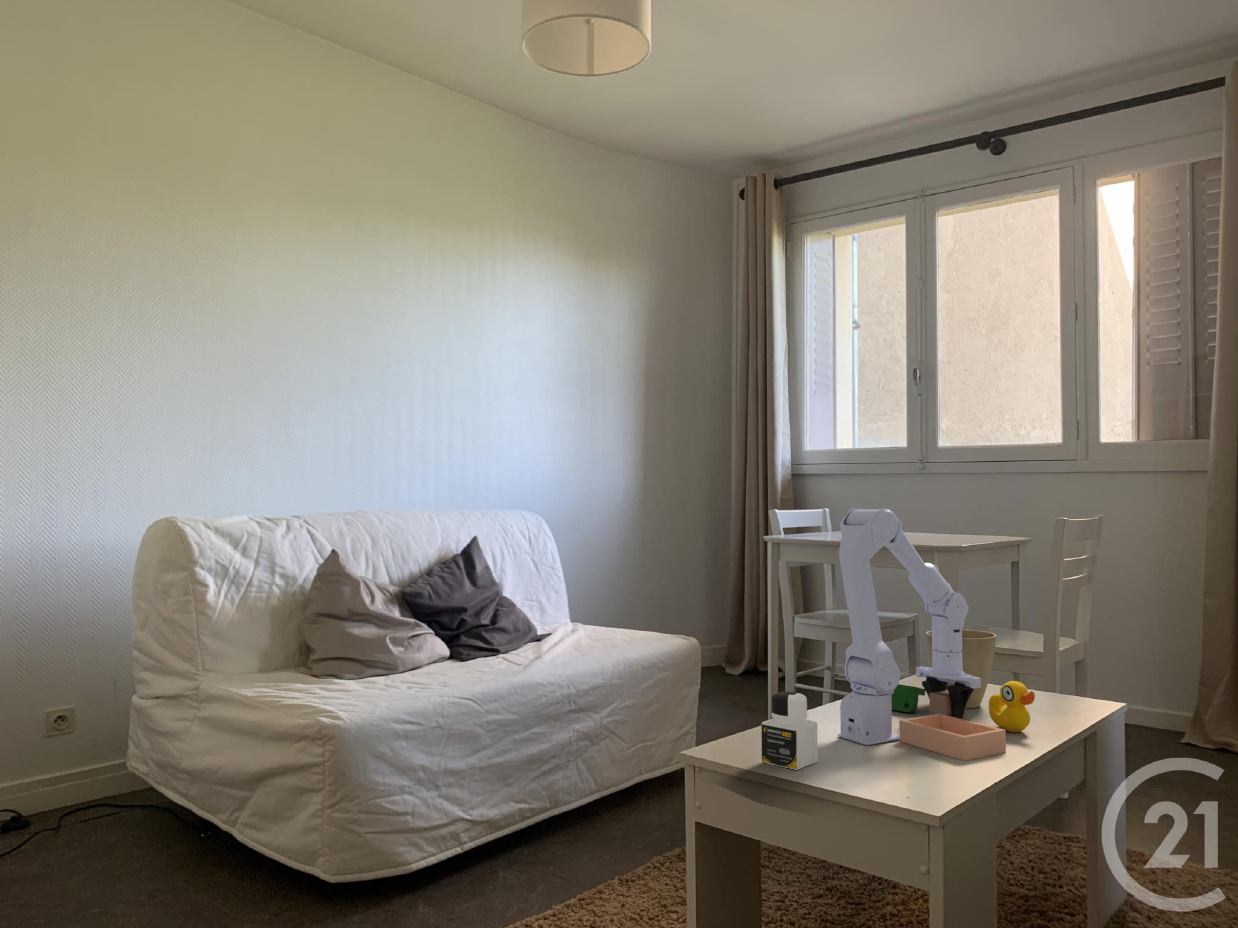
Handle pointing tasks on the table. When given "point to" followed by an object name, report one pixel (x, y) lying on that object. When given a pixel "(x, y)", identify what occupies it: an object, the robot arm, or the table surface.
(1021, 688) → the duckling
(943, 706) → the tan wooden block
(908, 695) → the clamp
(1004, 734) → the pink rectangular tray
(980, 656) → the plant pot
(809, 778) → the table surface
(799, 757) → the medicine bottle
